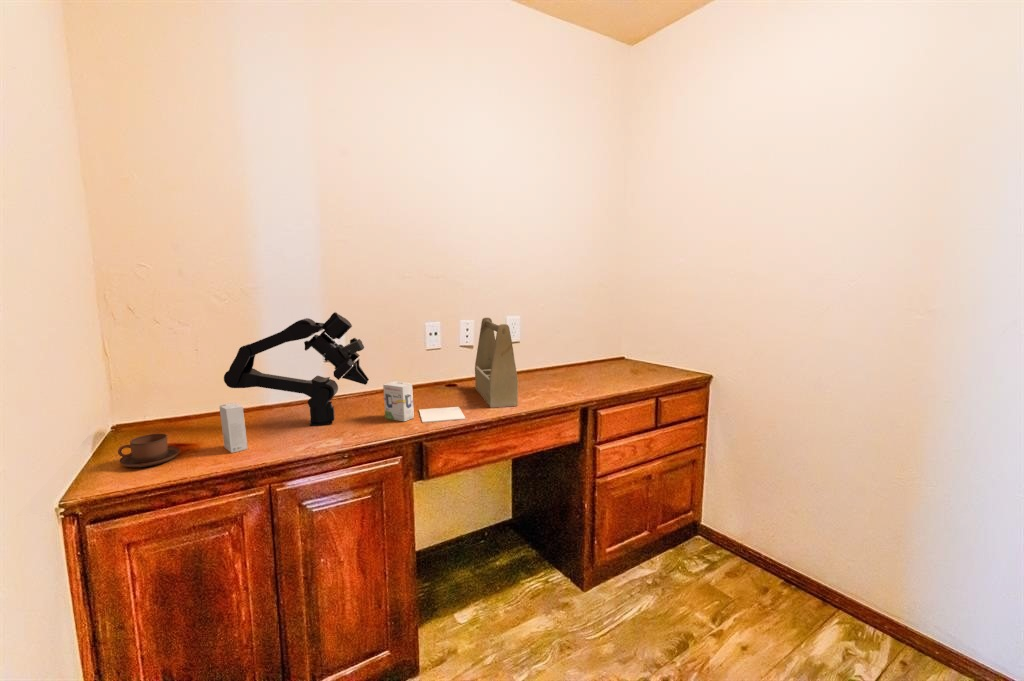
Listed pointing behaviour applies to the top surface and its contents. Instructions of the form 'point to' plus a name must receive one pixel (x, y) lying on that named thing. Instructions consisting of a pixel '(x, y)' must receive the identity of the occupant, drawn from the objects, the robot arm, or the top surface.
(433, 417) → the mat
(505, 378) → the caddy
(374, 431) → the top surface
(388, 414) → the ink box
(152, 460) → the cup and saucer
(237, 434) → the skincare box
